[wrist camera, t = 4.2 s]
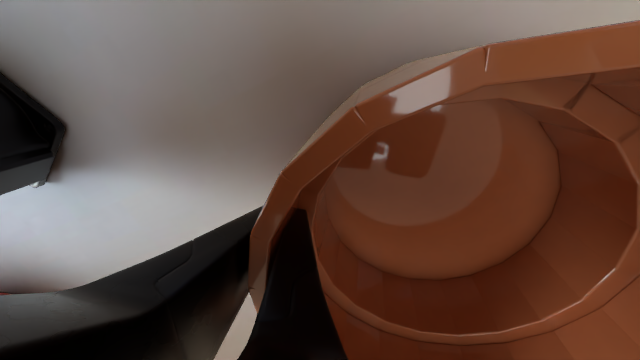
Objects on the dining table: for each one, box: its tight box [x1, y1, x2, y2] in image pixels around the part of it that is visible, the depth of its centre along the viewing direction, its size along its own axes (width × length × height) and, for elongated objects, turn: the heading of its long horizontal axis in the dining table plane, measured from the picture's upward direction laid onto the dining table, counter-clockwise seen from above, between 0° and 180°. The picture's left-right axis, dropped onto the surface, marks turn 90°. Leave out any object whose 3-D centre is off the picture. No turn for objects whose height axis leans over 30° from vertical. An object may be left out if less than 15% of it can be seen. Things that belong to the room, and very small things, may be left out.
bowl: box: [248, 20, 640, 360], centre depth 9 cm, size 13×13×7 cm
